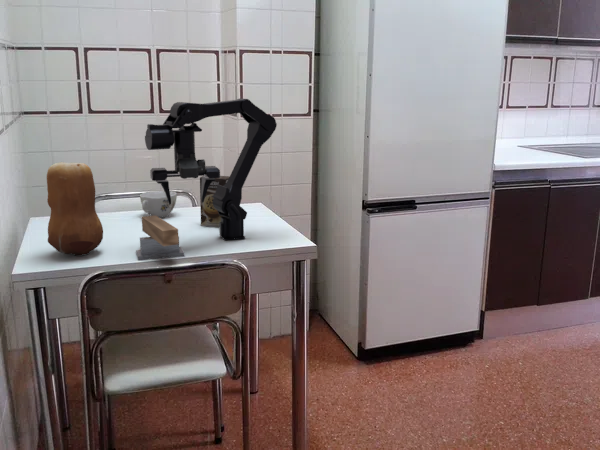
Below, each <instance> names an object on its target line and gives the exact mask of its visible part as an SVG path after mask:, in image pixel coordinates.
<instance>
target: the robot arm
mask: <svg viewBox="0 0 600 450" xmlns="http://www.w3.org/2000/svg"><path fill="white" fill-rule="evenodd" d="M234 114H239V115H241V116H242V119H244V121H245V122H246V123H247V124H248V125H247V130H246V132H247V133H246V135H247V136H246V141H245V142H244V145H243V147H242V150H241V152H240V153H239V156H238V158H237V160H236V163H235V164H234V166H233V169H232V171H231V173H230V175H229V176H230V177H229V179H228V181H227V183H226V184H225V185H223V186H221V185H218V186H217V189H216V192H215V194H214V195H213V196H212V197H214V198H213V206H214V208H215V209H216V210H217V211H218V213H219V215H220V216H223V217H221V222H219V227H218V228H219V229H218V231H219V236H220V237H221V238H222V240H224V241H232V240H233V241H235V240H243V239H246V236H245V235H244V233H245V232H244V226H245V223H244V221H245V220H246V218H247V215H248V212H247V211H246V210H245V209H244V208H243V207H242V206H241V203H242V199H243V198H242V197H243V196H242V195H243V192H242V191H243V187H244V185H245V183H246V181H247V178H248V176H249V174H250V172H251V170H252V168H253V166H254V163H255V162H256V159H257V157H258V156H259V155H258V154H259V152H260V150H261V148H262V146H263V145H264V144H265V143H267V141H268V140H270V138H271V137H272V135H273V134H274V133H275V131H276V129H277V125H278V124H277V121H276V118H275V117H274V116H273V115H271V114H267V113H266V111H265V110H263V109H261V108H260V107H259V106H257V105H255V104H254V103H253V102H252V101H251V100H250V99H248V98H237V99H231V100H223V101H213V102H206V103H196V102H183V101H177V102H175V103H173V104H172V105H171V107H170V110H169V114H168V116H167V117H166V119H165V121H164V122H163V124H151V123H150V124H149V123H148V124H147V125H146V126H147V128H146V131H145V135H144V142H145V146H146V149H147V150H148V151H153V150H154V151H157V150H159V151H160V150H170V149H171V147H173V154H174V159H173V160H174V170H173V169H172V170H169V169H168V170H167V168H165V167H153V168H151V169H150V172H149V173H150V179H151V180H152V181H154V182H156V183H157V184H160V185H161V187H162V188H163V191H164V192H165V194H166V197H167V199H168V202H169V204H171V197H170V185H169V180H168V179H167V178H175V177H176V178H177V177H180V178H181V179H183V180H184V179H198V178H199V177H202V176H204V177H202V182H201V202H202V203H203V202H204V199H205V196H206V193H207V190H208V187H209V185H210V184H211V182H212V181H215V180H216V179H215V178H220V176H221V171H220V170H221V169H220V168H219V167H217V166H216V165H206V160H205V159H203V158H202V159H197V158H196V143H195V142H196V140H195V138H196V137H195V133H197V132H199V133H200V132H202V131H203V129H202V128H201V127H200V126H198V124H197V123H196V122H201V121H202V120H204V119H207V118H209V117H210V118H211V117H217V116H218V117H219V116H226V115H234Z"/></svg>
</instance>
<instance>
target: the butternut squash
mask: <svg viewBox="0 0 600 450" xmlns="http://www.w3.org/2000/svg"><path fill="white" fill-rule="evenodd" d="M46 172H47V173H46V185H47V188H46V190H47V201H46V202H47V205H48V206H49V208H50V215H49V221H48V225H47V237H48V238H47V242H48V244H49V245H51V247H53V248H54V249H55V250H56V251H57V252H59V253H63V254H66V255H74V256H76V257H77V256H78V257H79V256H85V255H89V254H90V253H91V252H92V251H94V250H95V249H97V248H98V247H99V246H100V244H101V243H102V241H103V239H104V228H103V224H102V222H101V219H100V217H99V215H98V214H97V210H96V186H95V180H94V175H93V172H92V169H91V168H90V167H89V166H88V165H87V164H86V163H83V162H64V161H61V162H56V163H54V164H51V166H49V167H48V169H47V171H46Z"/></svg>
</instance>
